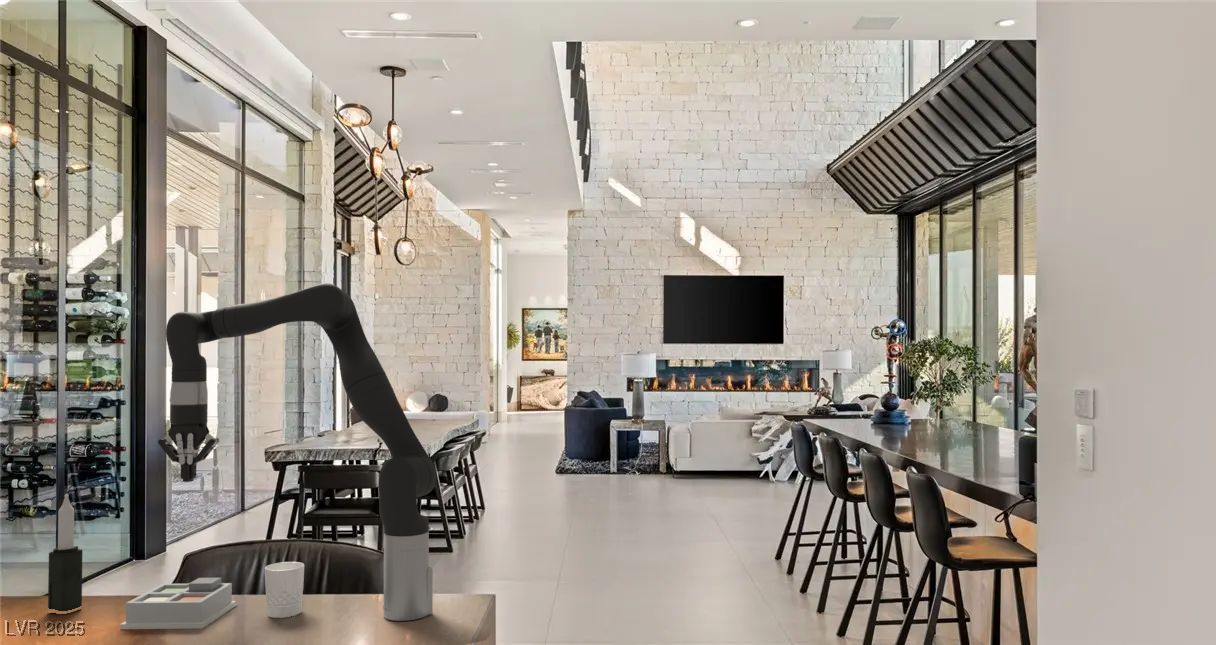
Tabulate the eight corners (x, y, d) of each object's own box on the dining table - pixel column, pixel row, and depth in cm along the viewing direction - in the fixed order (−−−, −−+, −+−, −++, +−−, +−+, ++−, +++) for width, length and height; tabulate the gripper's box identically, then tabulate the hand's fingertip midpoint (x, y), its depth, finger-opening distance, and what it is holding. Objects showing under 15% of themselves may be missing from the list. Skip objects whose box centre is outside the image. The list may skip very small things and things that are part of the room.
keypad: (236, 605, 195) (236, 582, 195) (202, 628, 178) (202, 603, 178) (160, 606, 194) (161, 583, 195) (120, 629, 178) (120, 604, 178)
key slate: (221, 593, 192) (221, 577, 193) (211, 599, 188) (211, 583, 188) (198, 593, 192) (199, 577, 192) (188, 599, 188) (188, 583, 188)
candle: (84, 608, 193) (85, 492, 194) (63, 615, 188) (64, 496, 189) (66, 606, 194) (68, 491, 195) (45, 613, 190) (46, 495, 190)
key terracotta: (206, 613, 185) (207, 597, 185) (196, 619, 181) (196, 603, 181) (183, 613, 185) (183, 597, 185) (172, 620, 180) (172, 603, 181)
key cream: (172, 613, 185) (173, 597, 185) (161, 620, 180) (161, 603, 181) (149, 613, 185) (150, 597, 185) (137, 620, 180) (138, 604, 181)
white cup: (310, 608, 192) (310, 561, 192) (293, 619, 184) (294, 570, 184) (275, 608, 192) (275, 561, 193) (257, 618, 185) (257, 570, 185)
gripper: (226, 401, 201) (225, 478, 200) (167, 401, 201) (166, 479, 200) (211, 403, 193) (210, 483, 193) (150, 403, 193) (149, 483, 192)
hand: (188, 481), depth 196 cm, fingers closed
